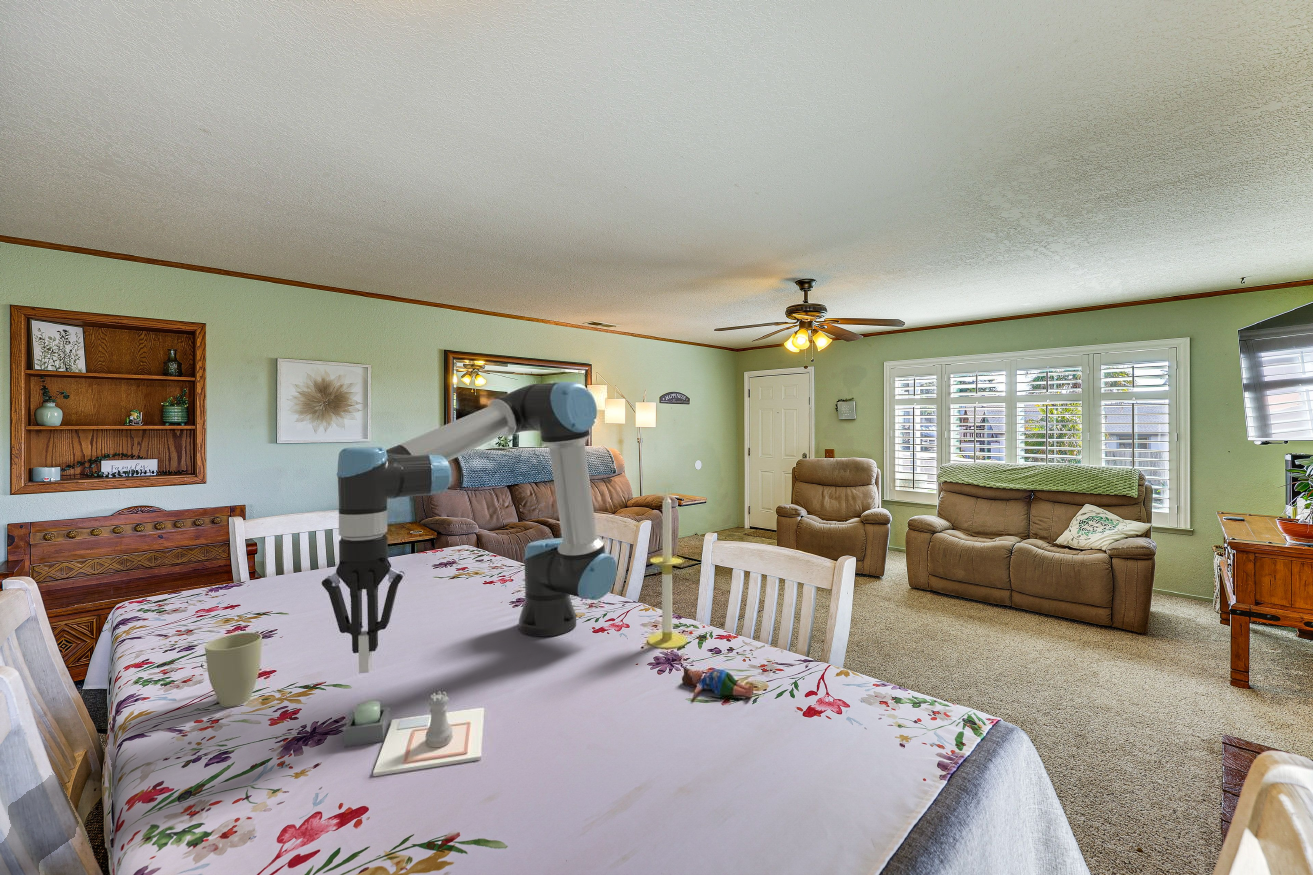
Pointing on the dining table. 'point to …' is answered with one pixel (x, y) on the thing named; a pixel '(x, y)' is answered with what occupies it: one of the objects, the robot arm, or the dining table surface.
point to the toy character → (716, 682)
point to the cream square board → (413, 753)
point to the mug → (234, 666)
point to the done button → (367, 713)
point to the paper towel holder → (667, 587)
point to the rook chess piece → (438, 722)
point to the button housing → (366, 730)
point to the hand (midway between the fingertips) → (365, 669)
